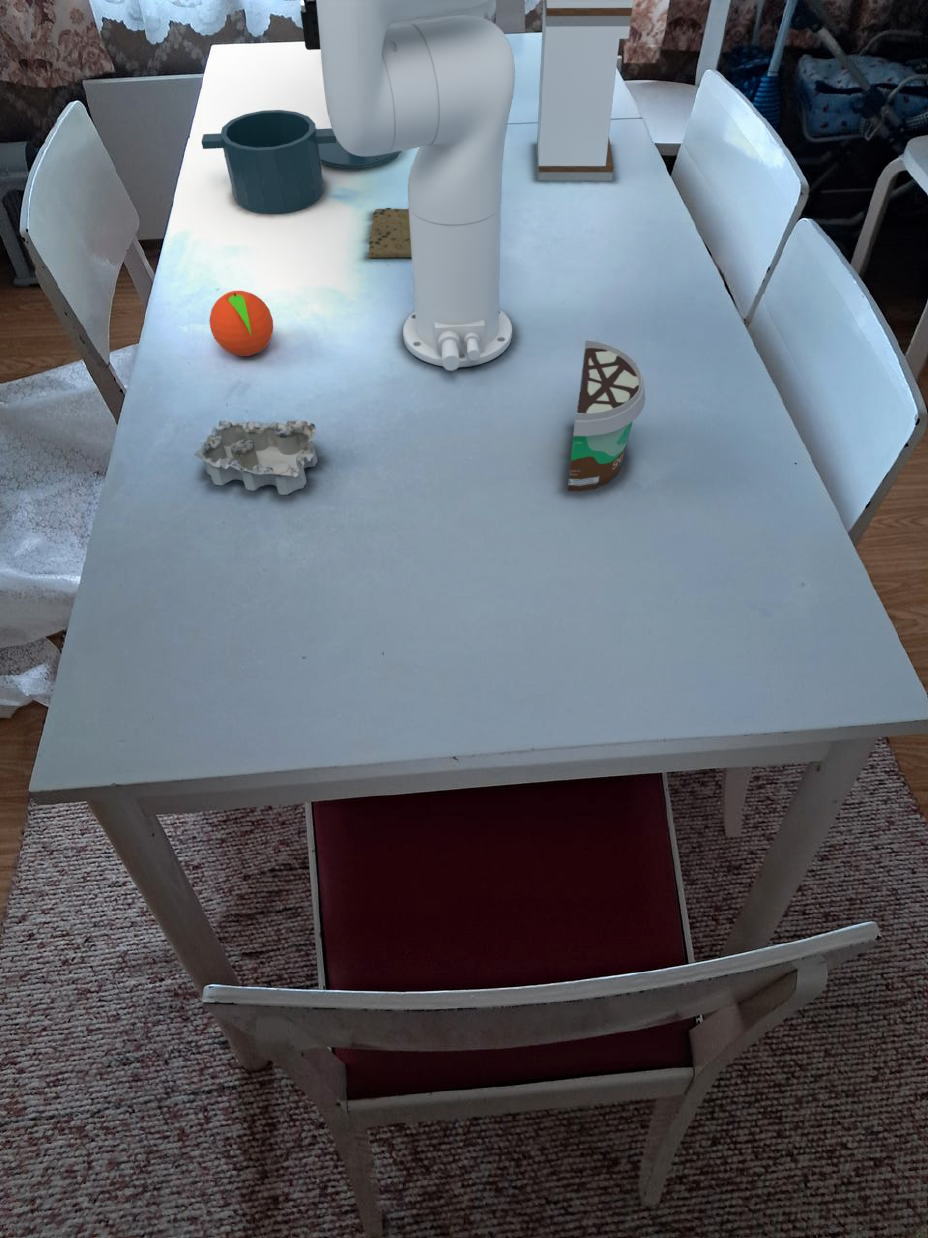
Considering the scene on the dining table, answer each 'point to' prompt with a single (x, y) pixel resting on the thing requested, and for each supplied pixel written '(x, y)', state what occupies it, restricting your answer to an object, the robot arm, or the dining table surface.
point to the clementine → (241, 323)
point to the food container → (604, 415)
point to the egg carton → (260, 454)
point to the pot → (272, 160)
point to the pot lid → (348, 157)
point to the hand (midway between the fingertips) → (320, 34)
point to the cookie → (390, 233)
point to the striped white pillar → (578, 87)
